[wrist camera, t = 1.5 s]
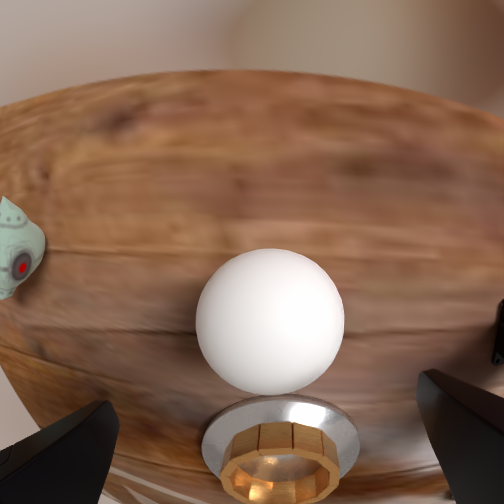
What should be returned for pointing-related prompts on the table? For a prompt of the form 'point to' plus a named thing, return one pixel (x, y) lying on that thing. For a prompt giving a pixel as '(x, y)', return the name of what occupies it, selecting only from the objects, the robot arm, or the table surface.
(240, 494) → the wooden ring on plate
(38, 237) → the robot head
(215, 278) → the lightbulb
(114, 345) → the table surface
